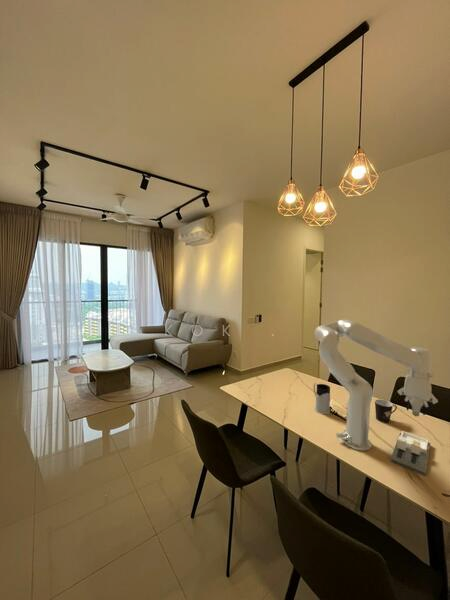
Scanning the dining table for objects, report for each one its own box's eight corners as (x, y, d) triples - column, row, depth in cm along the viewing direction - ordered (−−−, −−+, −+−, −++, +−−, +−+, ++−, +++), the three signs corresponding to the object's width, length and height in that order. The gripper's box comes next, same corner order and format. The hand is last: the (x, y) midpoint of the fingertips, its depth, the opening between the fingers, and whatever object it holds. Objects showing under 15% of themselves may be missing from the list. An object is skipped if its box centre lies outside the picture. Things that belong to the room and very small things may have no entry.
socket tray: (426, 453, 113) (426, 450, 113) (398, 443, 120) (399, 440, 119) (427, 442, 120) (428, 439, 120) (402, 433, 127) (402, 430, 127)
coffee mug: (375, 422, 140) (376, 404, 139) (372, 414, 148) (373, 398, 147) (400, 426, 136) (401, 408, 135) (395, 418, 144) (396, 401, 143)
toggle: (405, 450, 113) (405, 442, 113) (397, 447, 115) (397, 439, 115) (406, 446, 116) (407, 438, 116) (398, 443, 118) (399, 435, 118)
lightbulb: (408, 411, 123) (409, 389, 122) (423, 415, 119) (425, 393, 119) (407, 416, 118) (408, 394, 118) (423, 421, 115) (425, 397, 114)
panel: (425, 476, 101) (425, 472, 101) (390, 461, 109) (390, 458, 109) (430, 445, 120) (430, 442, 120) (400, 434, 128) (400, 432, 128)
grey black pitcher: (319, 415, 146) (321, 390, 145) (307, 403, 160) (308, 380, 159) (333, 413, 148) (334, 389, 147) (319, 402, 162) (320, 379, 161)
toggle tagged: (419, 455, 111) (419, 445, 110) (410, 451, 113) (411, 442, 112) (420, 450, 114) (420, 441, 113) (412, 447, 116) (412, 438, 115)
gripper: (442, 376, 114) (440, 415, 116) (397, 367, 126) (395, 402, 127) (442, 381, 109) (439, 421, 110) (395, 371, 120) (392, 408, 122)
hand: (415, 411), depth 119 cm, fingers closed on lightbulb, 5 cm apart
